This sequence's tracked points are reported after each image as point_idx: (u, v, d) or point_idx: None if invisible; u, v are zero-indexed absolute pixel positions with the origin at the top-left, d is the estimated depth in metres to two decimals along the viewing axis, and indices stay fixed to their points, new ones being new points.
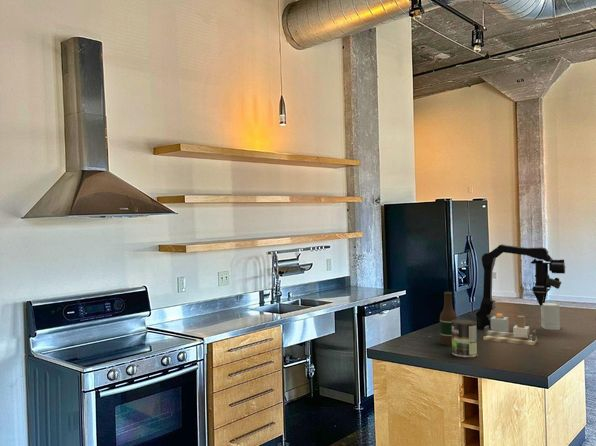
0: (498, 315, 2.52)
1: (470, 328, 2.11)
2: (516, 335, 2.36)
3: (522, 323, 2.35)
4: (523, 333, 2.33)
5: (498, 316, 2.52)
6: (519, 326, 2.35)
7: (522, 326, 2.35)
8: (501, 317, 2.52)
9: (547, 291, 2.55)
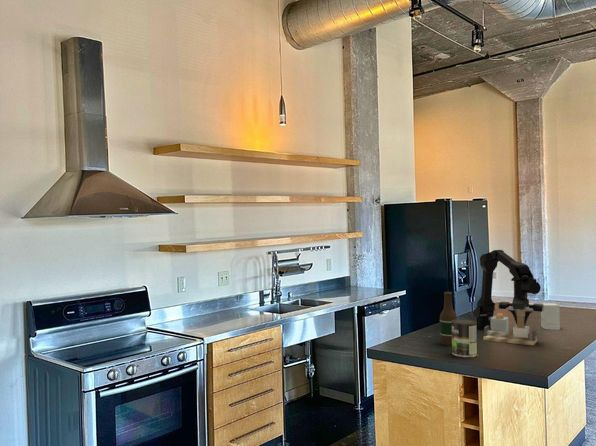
0: (498, 315, 2.52)
1: (470, 328, 2.11)
2: (516, 335, 2.36)
3: (522, 323, 2.35)
4: (523, 333, 2.33)
5: (498, 316, 2.52)
6: (519, 326, 2.35)
7: (522, 326, 2.35)
8: (501, 317, 2.52)
9: (525, 313, 2.34)
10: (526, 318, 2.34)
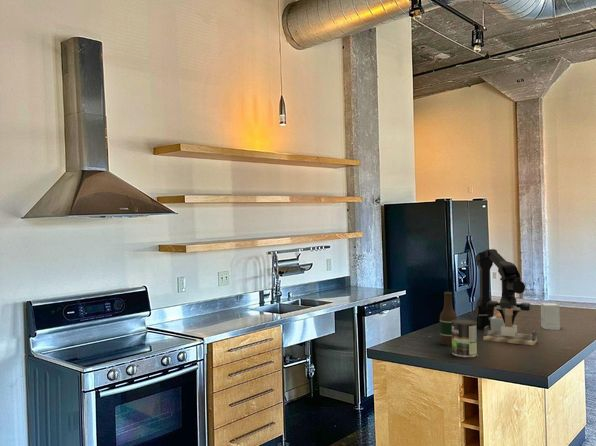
0: (498, 315, 2.52)
1: (470, 328, 2.11)
2: (504, 334, 2.38)
3: (510, 322, 2.38)
4: (511, 332, 2.36)
5: (498, 316, 2.52)
6: (507, 325, 2.38)
7: (510, 325, 2.38)
8: (501, 317, 2.52)
9: None
10: (514, 317, 2.37)
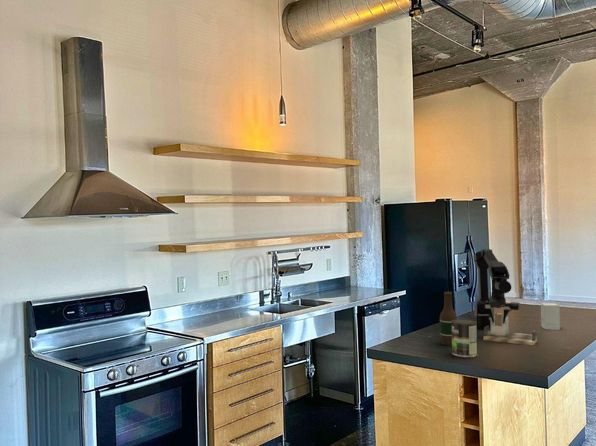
0: None
1: (470, 328, 2.11)
2: (494, 333, 2.41)
3: (499, 321, 2.40)
4: (500, 331, 2.39)
5: None
6: (496, 324, 2.41)
7: (499, 324, 2.40)
8: None
9: None
10: (505, 316, 2.39)
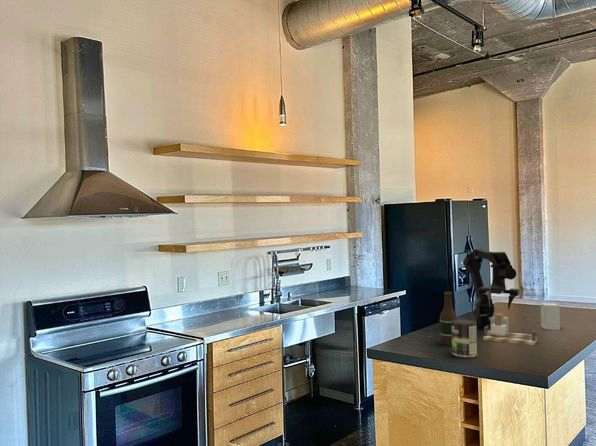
0: None
1: (470, 328, 2.11)
2: (494, 333, 2.41)
3: (499, 321, 2.40)
4: (500, 331, 2.39)
5: None
6: (496, 324, 2.41)
7: (499, 324, 2.40)
8: None
9: None
10: (510, 302, 2.49)
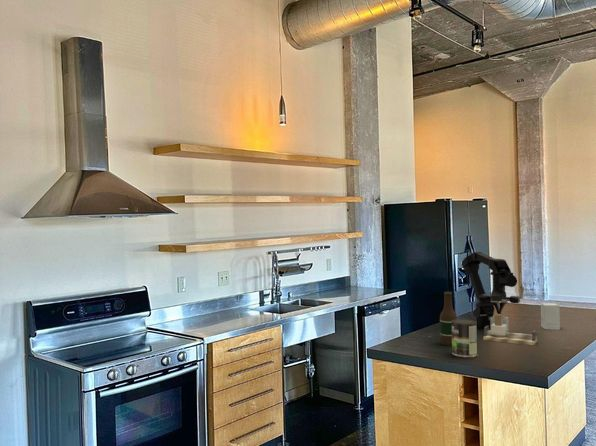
0: None
1: (470, 328, 2.11)
2: (494, 333, 2.41)
3: (499, 321, 2.40)
4: (500, 331, 2.39)
5: None
6: (496, 324, 2.41)
7: (499, 324, 2.40)
8: None
9: None
10: (501, 309, 2.52)
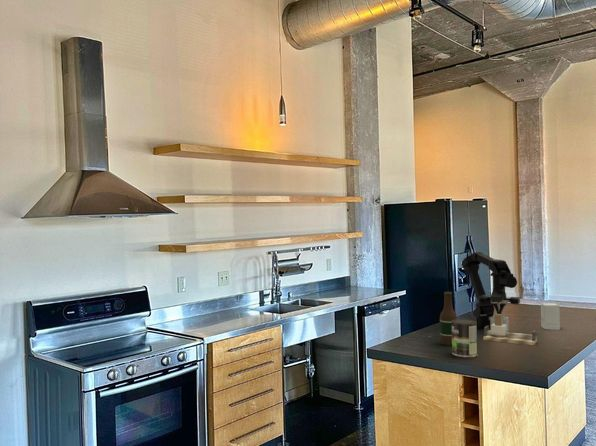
0: None
1: (470, 328, 2.11)
2: (494, 333, 2.41)
3: (499, 321, 2.40)
4: (500, 331, 2.39)
5: None
6: (496, 324, 2.41)
7: (499, 324, 2.40)
8: None
9: None
10: (501, 310, 2.52)
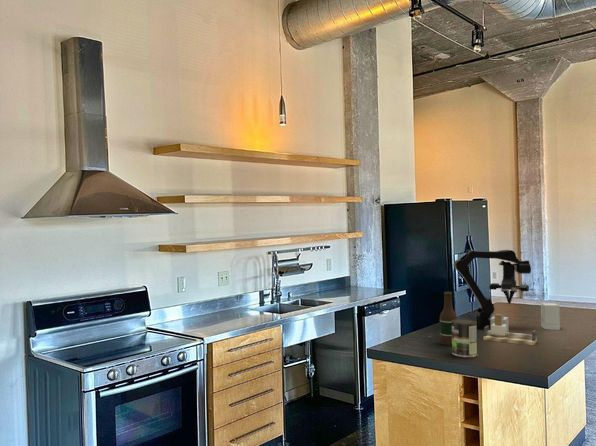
0: None
1: (470, 328, 2.11)
2: (494, 333, 2.41)
3: (499, 321, 2.40)
4: (500, 331, 2.39)
5: None
6: (496, 324, 2.41)
7: (499, 324, 2.40)
8: None
9: None
10: (511, 297, 2.64)
